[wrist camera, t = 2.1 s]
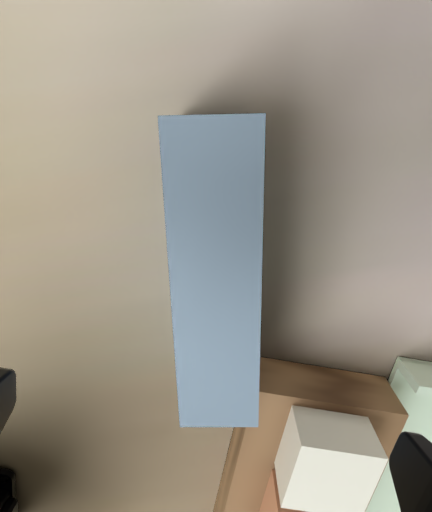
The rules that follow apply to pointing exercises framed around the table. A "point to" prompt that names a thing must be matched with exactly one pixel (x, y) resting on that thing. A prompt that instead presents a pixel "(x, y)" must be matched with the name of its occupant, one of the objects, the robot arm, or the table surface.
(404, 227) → the table surface
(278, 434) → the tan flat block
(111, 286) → the table surface
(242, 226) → the long blue block
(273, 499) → the tile
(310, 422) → the tile
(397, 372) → the tray
